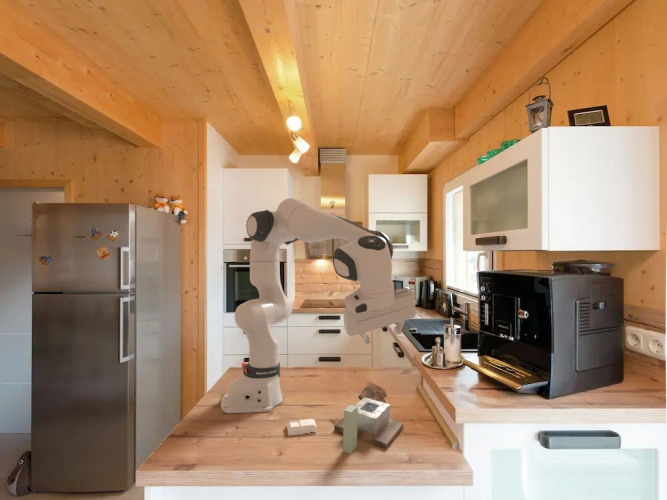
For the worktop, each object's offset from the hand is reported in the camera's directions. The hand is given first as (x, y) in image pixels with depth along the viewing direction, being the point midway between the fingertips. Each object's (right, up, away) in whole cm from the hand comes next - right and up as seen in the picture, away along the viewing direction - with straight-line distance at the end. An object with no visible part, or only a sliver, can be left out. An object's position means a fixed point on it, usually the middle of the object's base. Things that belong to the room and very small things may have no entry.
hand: (382, 337), depth 94 cm
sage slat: (-9, -33, +3) cm, 35 cm away
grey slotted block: (-2, -32, +14) cm, 35 cm away
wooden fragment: (+2, -34, +39) cm, 51 cm away
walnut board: (-2, -33, +14) cm, 36 cm away
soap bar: (-24, -34, +13) cm, 43 cm away
